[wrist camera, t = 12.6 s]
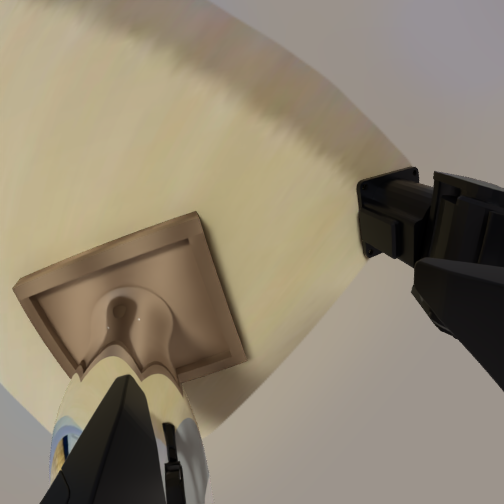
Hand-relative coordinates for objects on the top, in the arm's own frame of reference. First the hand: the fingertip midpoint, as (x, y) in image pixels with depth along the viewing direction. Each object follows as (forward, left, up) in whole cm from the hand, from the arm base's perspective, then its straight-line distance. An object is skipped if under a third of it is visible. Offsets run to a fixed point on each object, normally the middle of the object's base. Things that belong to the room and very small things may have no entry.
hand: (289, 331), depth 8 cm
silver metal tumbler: (+8, +5, -12) cm, 16 cm away
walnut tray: (+8, +5, -13) cm, 16 cm away
